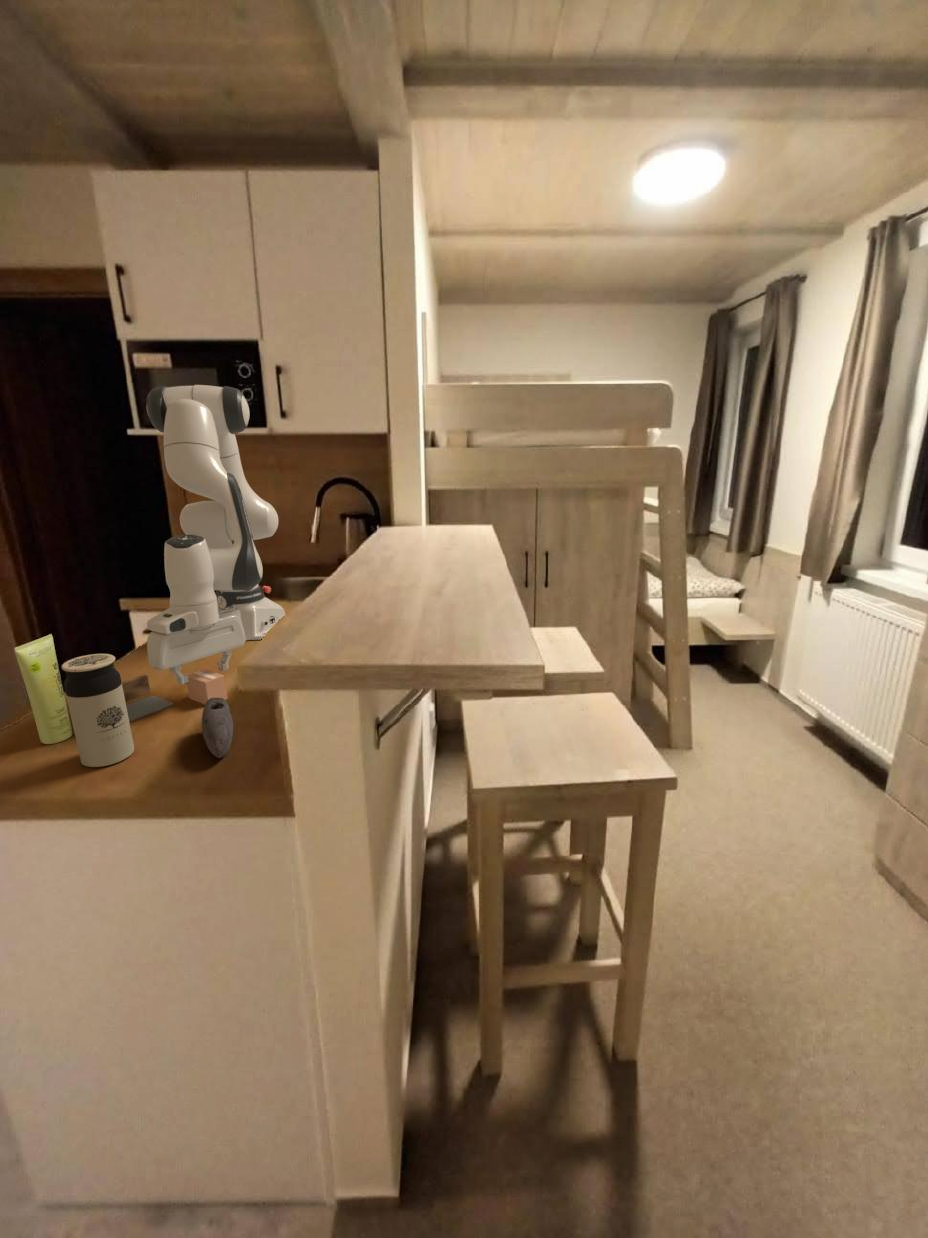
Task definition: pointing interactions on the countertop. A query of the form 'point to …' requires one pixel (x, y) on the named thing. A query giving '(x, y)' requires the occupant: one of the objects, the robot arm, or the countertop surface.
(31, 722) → the countertop surface
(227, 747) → the perforated stone tool
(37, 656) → the tube
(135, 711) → the slate pad
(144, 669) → the countertop surface
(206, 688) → the terracotta block
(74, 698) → the travel mug
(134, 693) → the walnut corner walls
